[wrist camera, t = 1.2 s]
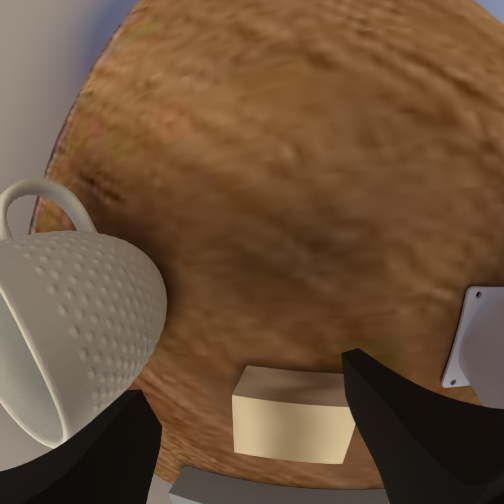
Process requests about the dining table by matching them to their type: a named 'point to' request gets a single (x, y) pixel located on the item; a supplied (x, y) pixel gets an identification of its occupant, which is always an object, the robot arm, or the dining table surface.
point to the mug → (71, 318)
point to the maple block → (291, 415)
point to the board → (259, 492)
